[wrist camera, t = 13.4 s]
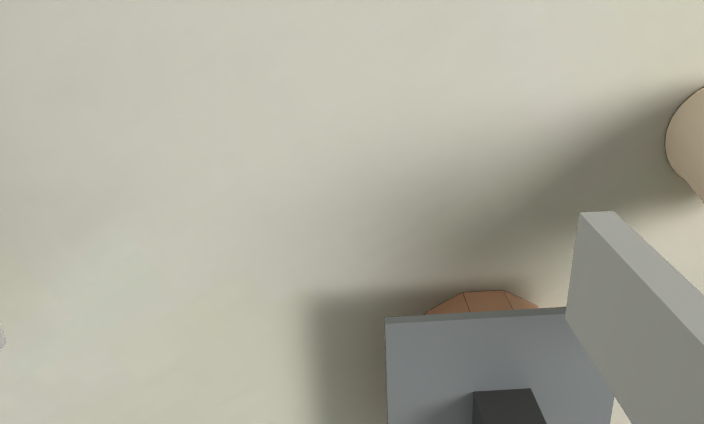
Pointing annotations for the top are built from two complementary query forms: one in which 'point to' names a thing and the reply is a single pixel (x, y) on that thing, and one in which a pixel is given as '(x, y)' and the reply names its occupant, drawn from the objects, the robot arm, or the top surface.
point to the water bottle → (688, 142)
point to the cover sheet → (491, 370)
